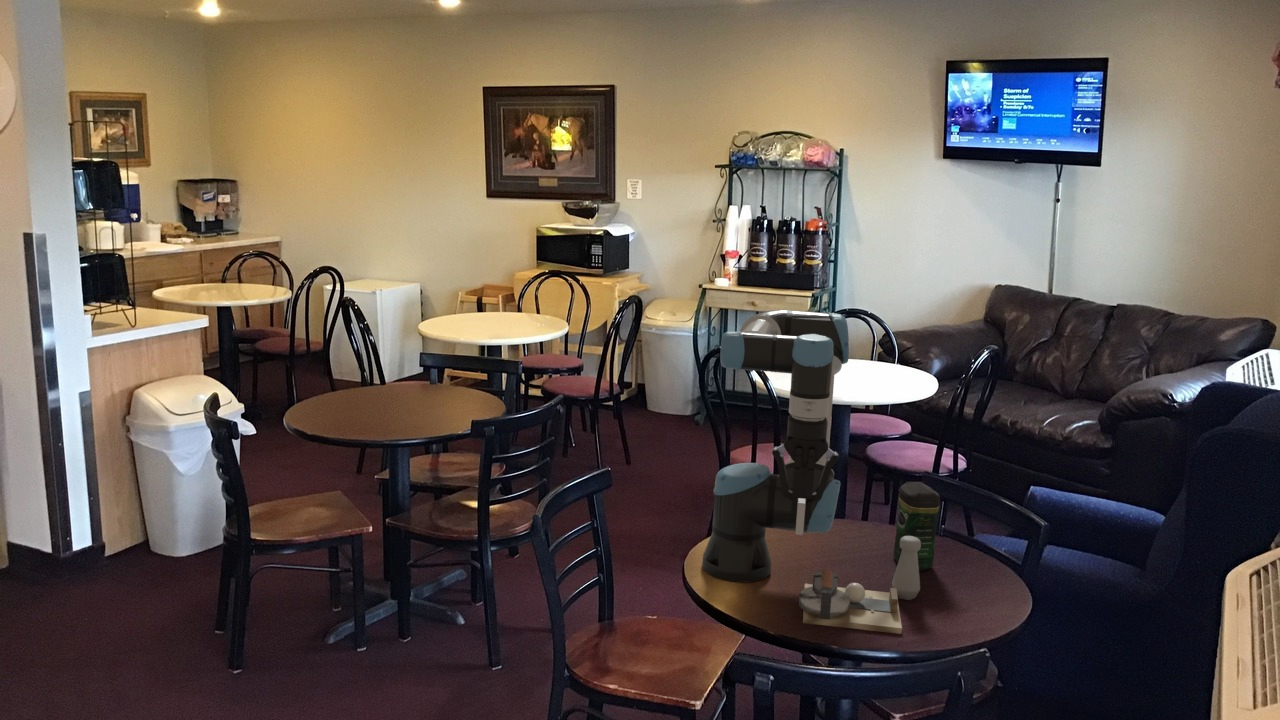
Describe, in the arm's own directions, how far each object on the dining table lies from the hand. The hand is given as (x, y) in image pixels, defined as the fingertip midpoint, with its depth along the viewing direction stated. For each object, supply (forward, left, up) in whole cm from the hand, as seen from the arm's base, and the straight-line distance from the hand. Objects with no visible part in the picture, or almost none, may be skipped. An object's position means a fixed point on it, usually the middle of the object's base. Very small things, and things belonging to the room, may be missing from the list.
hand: (799, 532), depth 205 cm
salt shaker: (+23, +16, -18) cm, 33 cm away
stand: (+12, +6, -18) cm, 22 cm away
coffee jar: (+26, +34, -18) cm, 46 cm away
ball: (+12, +7, -16) cm, 21 cm away
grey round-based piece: (+6, +1, -16) cm, 17 cm away
